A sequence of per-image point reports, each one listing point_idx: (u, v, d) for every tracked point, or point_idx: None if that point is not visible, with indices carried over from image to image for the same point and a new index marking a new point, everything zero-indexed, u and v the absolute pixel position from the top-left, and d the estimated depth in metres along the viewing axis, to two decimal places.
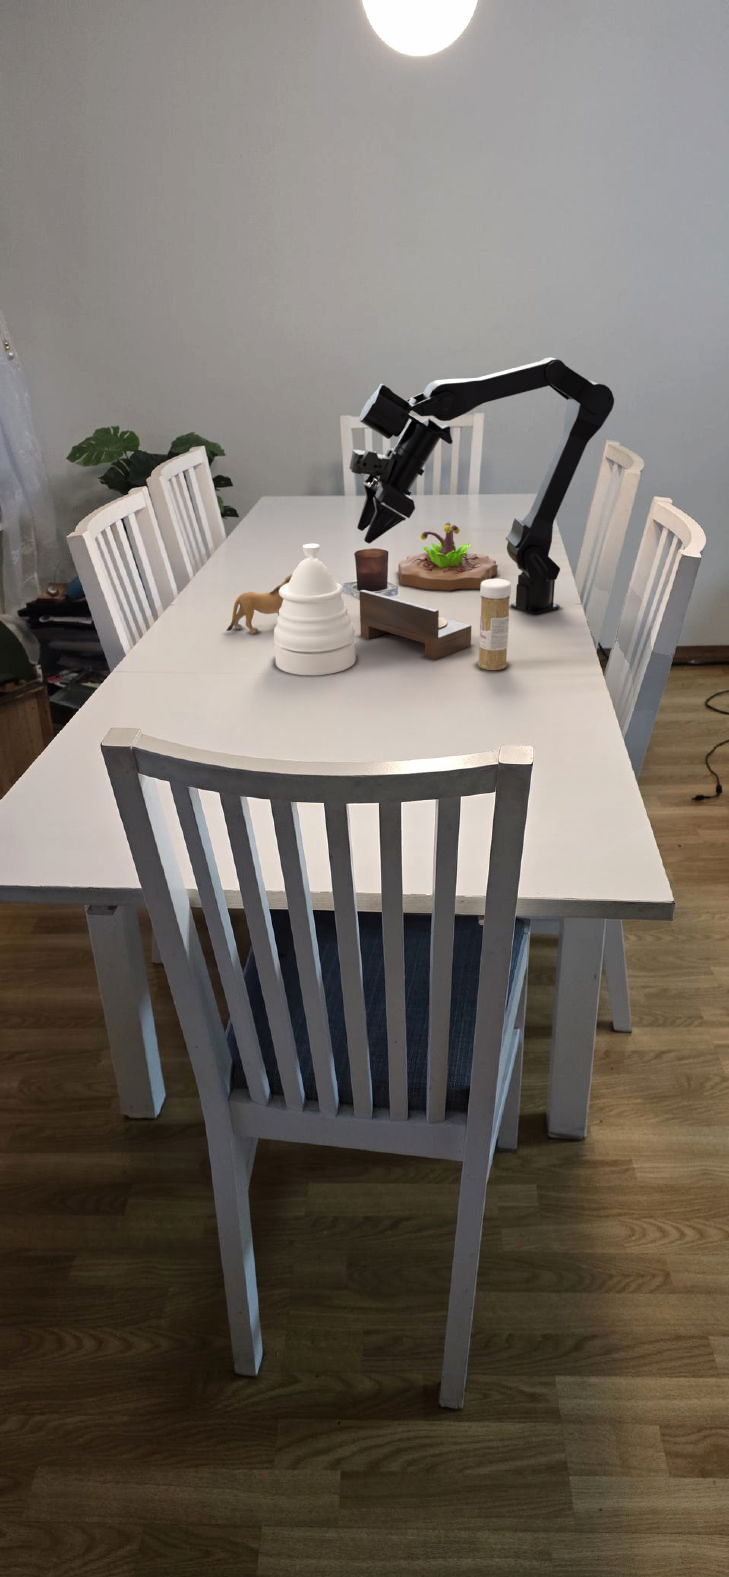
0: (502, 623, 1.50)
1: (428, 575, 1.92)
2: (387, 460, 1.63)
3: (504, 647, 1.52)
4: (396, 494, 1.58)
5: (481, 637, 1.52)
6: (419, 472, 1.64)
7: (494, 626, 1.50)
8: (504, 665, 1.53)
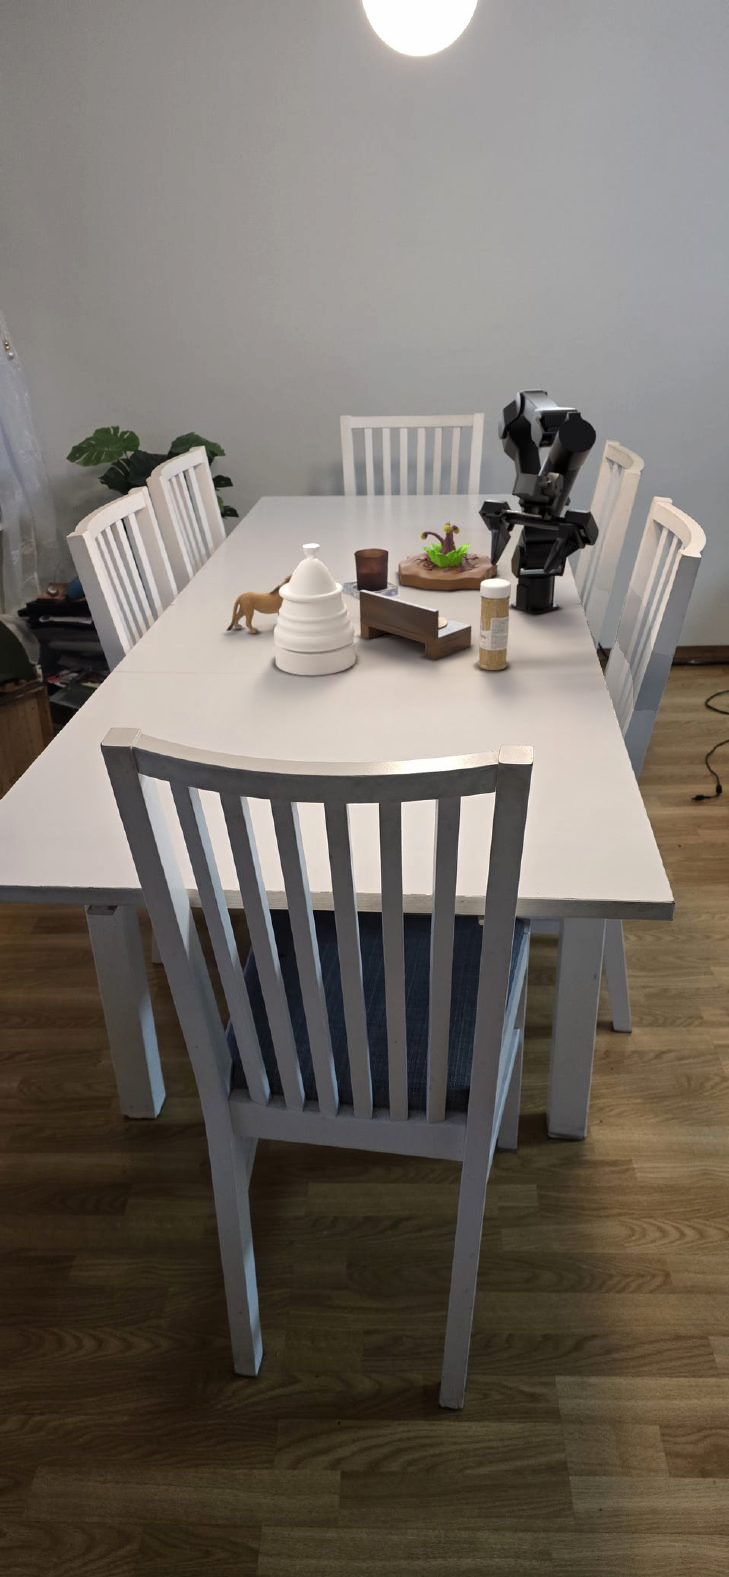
0: (502, 623, 1.50)
1: (428, 575, 1.92)
2: None
3: (504, 647, 1.52)
4: None
5: (481, 637, 1.52)
6: (568, 502, 1.57)
7: (494, 626, 1.50)
8: (504, 665, 1.53)
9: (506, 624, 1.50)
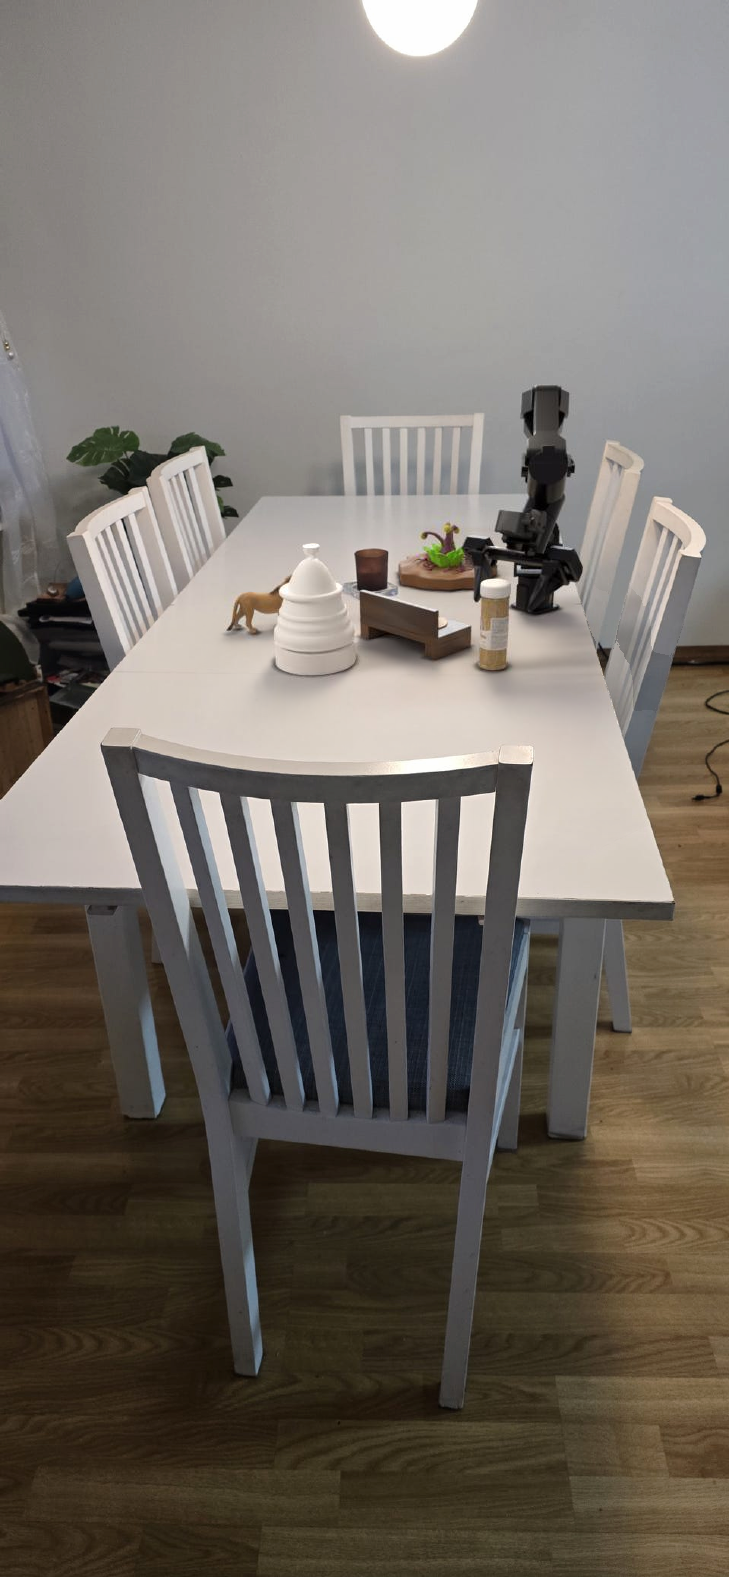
0: (502, 623, 1.50)
1: (428, 574, 1.92)
2: None
3: (504, 647, 1.52)
4: None
5: (481, 637, 1.52)
6: (551, 537, 1.55)
7: (494, 626, 1.50)
8: (504, 665, 1.53)
9: (506, 624, 1.50)
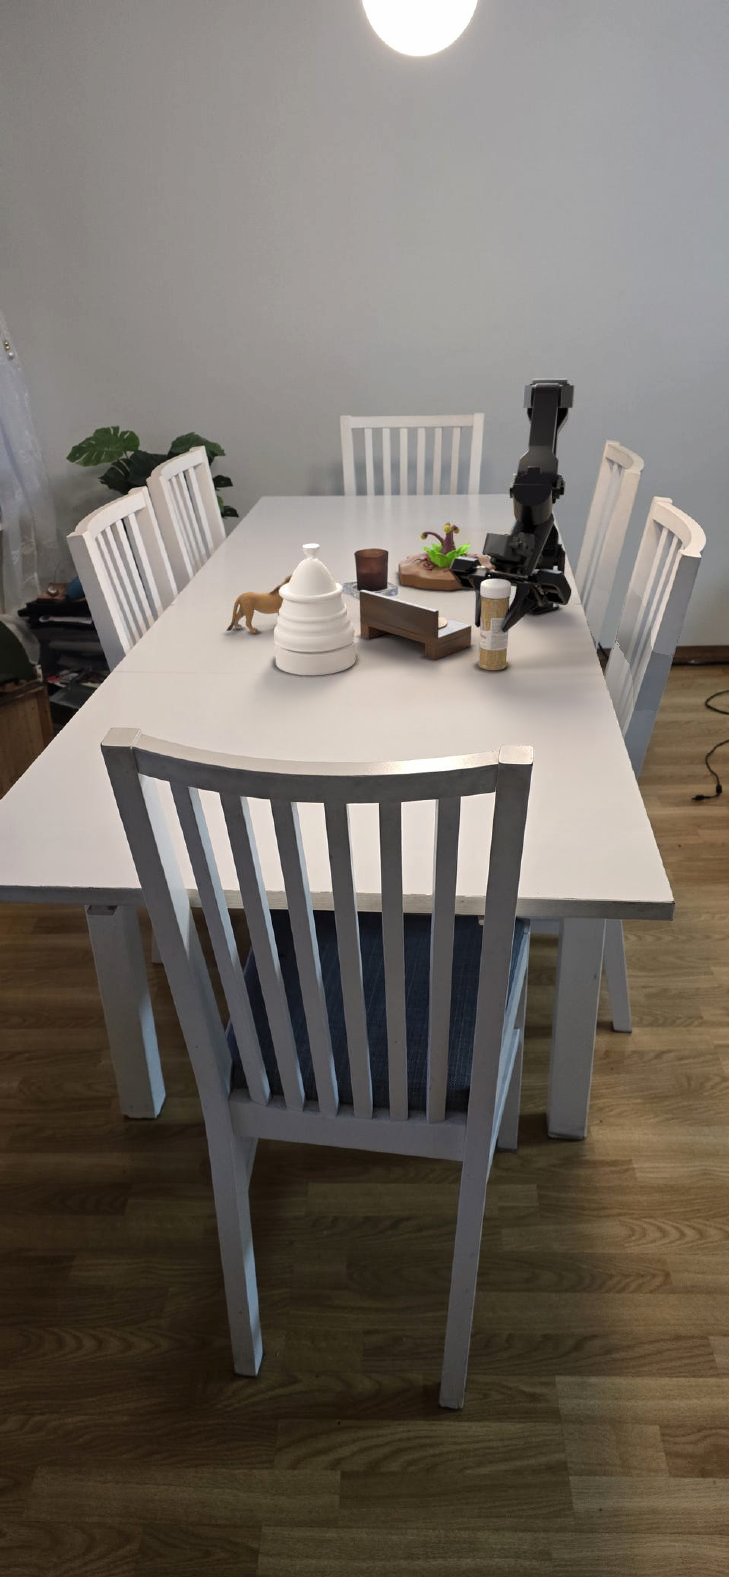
0: (502, 623, 1.50)
1: (428, 575, 1.92)
2: None
3: (504, 647, 1.52)
4: (566, 579, 1.47)
5: (481, 637, 1.52)
6: (540, 559, 1.54)
7: (494, 626, 1.50)
8: (504, 665, 1.53)
9: None
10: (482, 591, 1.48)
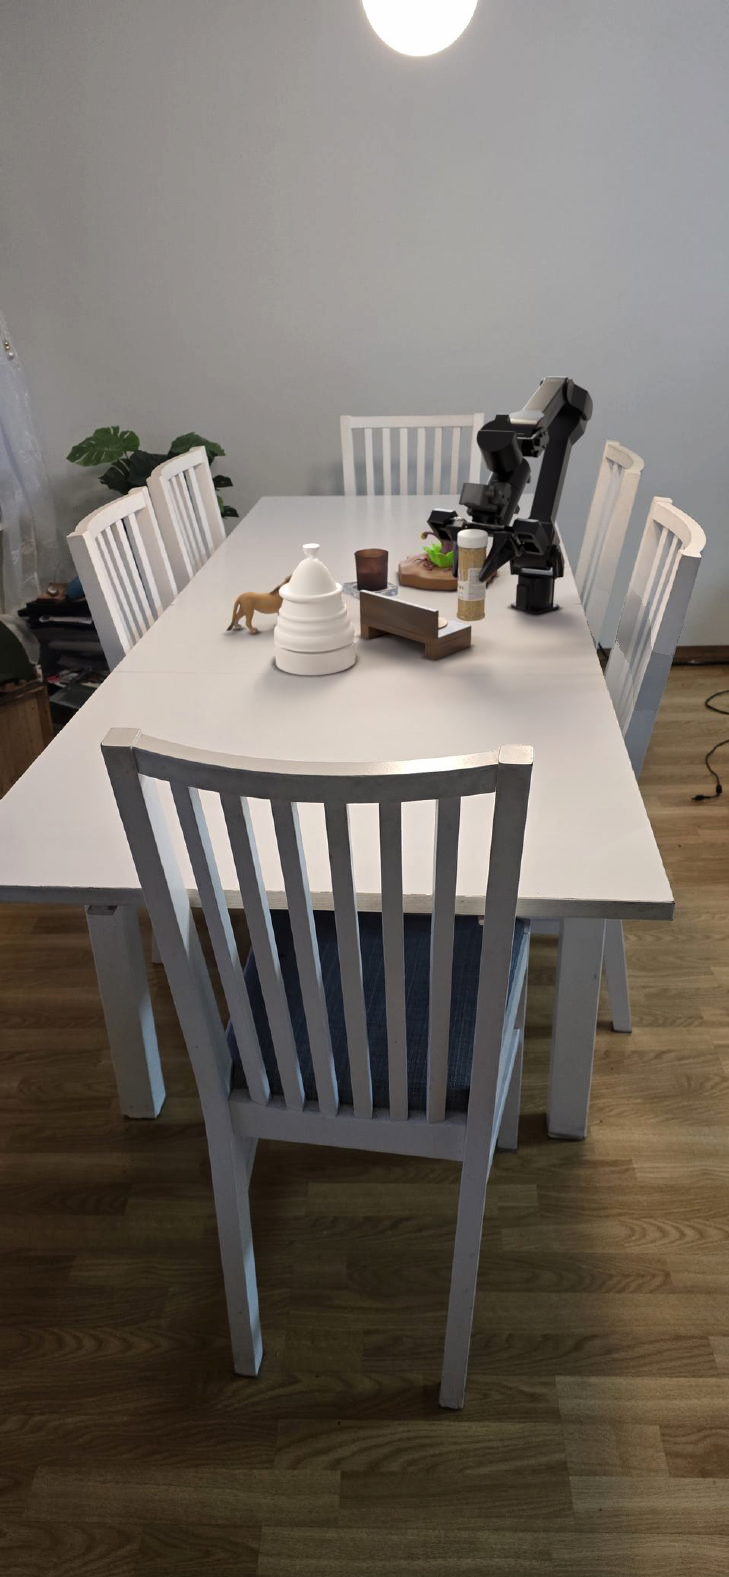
0: None
1: (428, 574, 1.92)
2: None
3: (482, 598, 1.52)
4: (542, 528, 1.48)
5: (459, 588, 1.52)
6: (517, 510, 1.54)
7: (472, 576, 1.50)
8: (482, 616, 1.54)
9: None
10: (459, 541, 1.49)
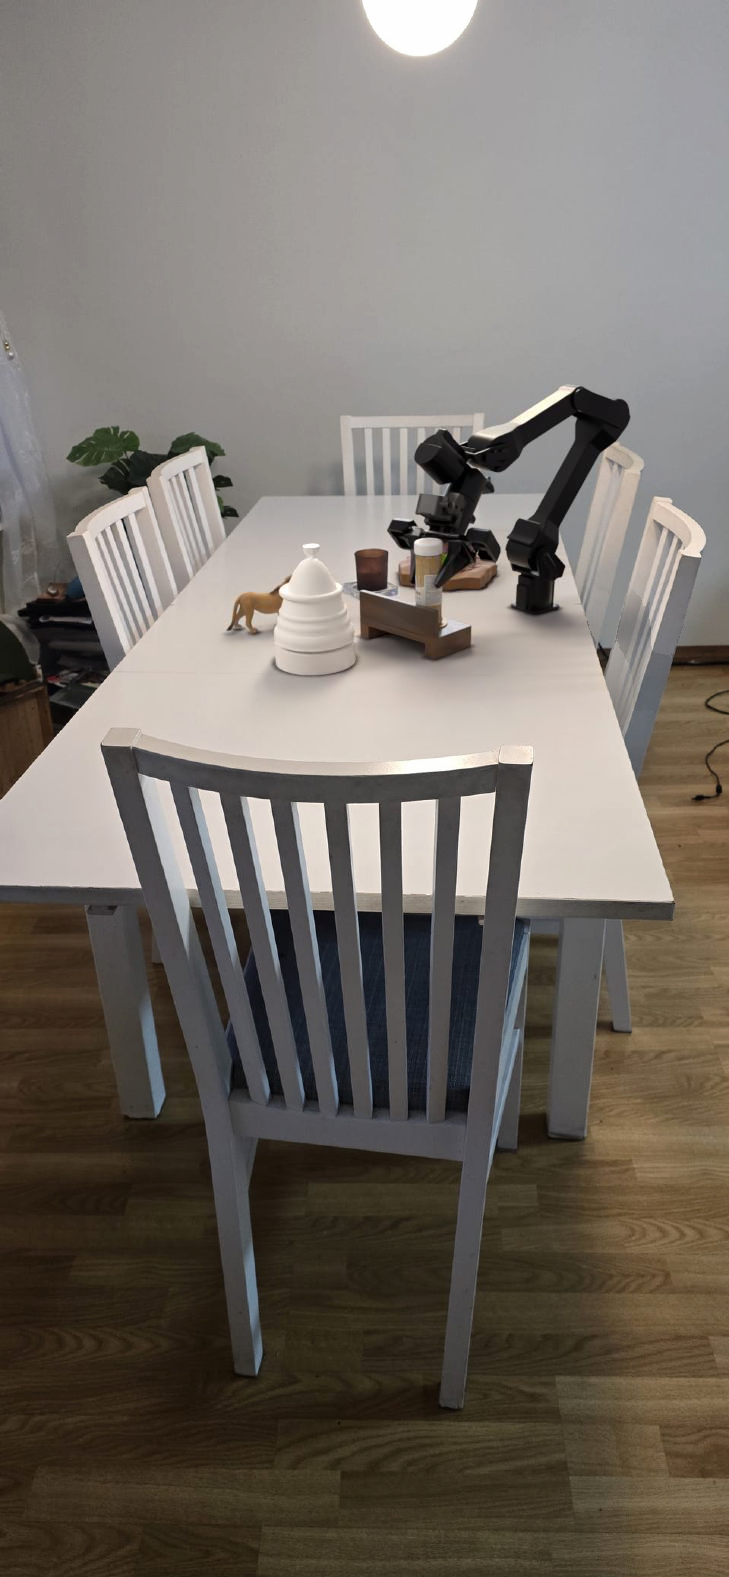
0: (435, 580, 1.58)
1: None
2: None
3: (438, 603, 1.60)
4: (494, 537, 1.55)
5: (416, 594, 1.60)
6: (473, 520, 1.62)
7: (428, 582, 1.58)
8: (439, 620, 1.62)
9: None
10: (415, 549, 1.57)
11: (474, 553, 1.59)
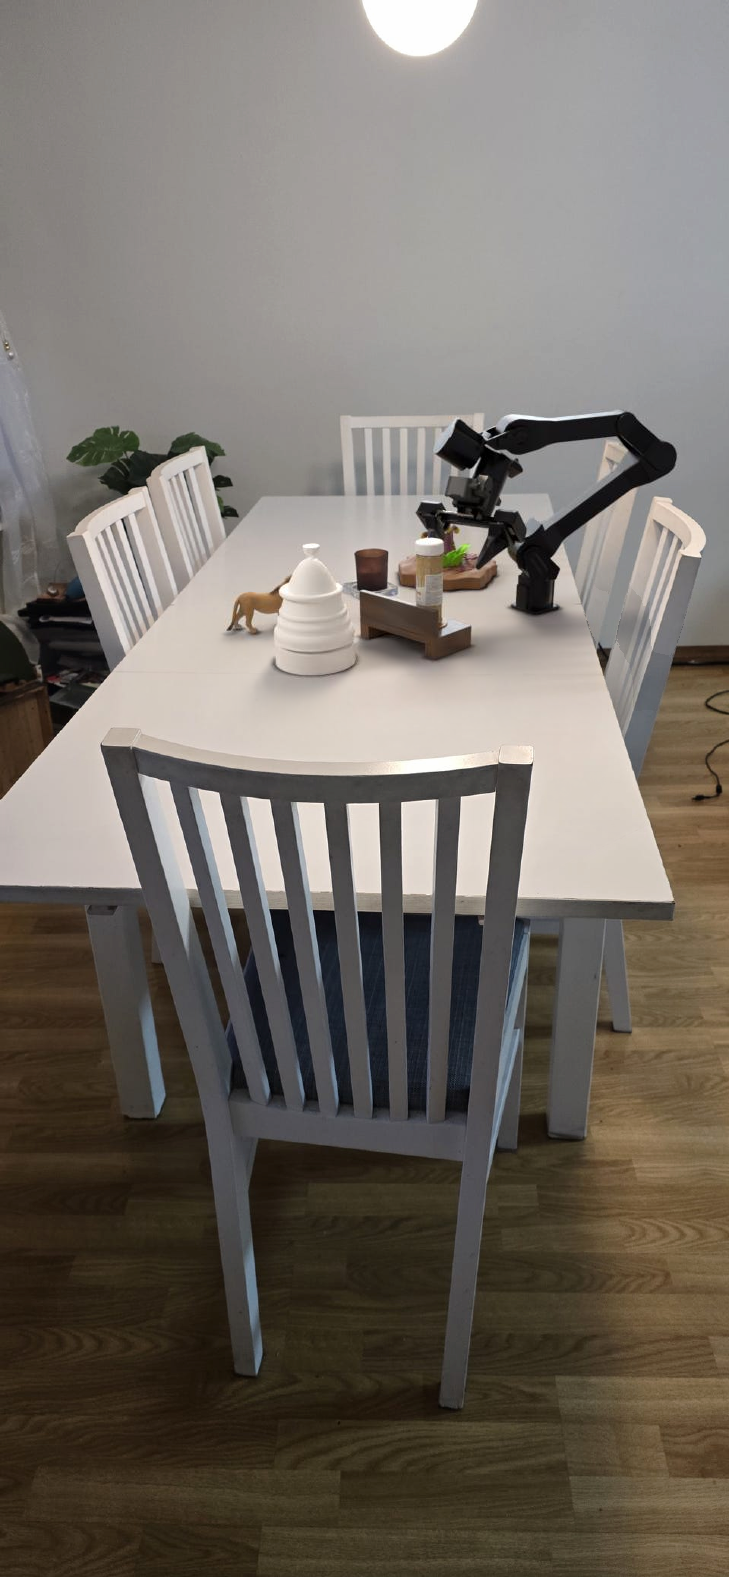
0: (436, 580, 1.58)
1: None
2: None
3: (439, 603, 1.60)
4: (521, 518, 1.61)
5: (417, 594, 1.60)
6: (499, 502, 1.68)
7: (428, 582, 1.58)
8: (439, 621, 1.62)
9: (440, 581, 1.59)
10: (416, 549, 1.57)
11: (513, 535, 1.63)
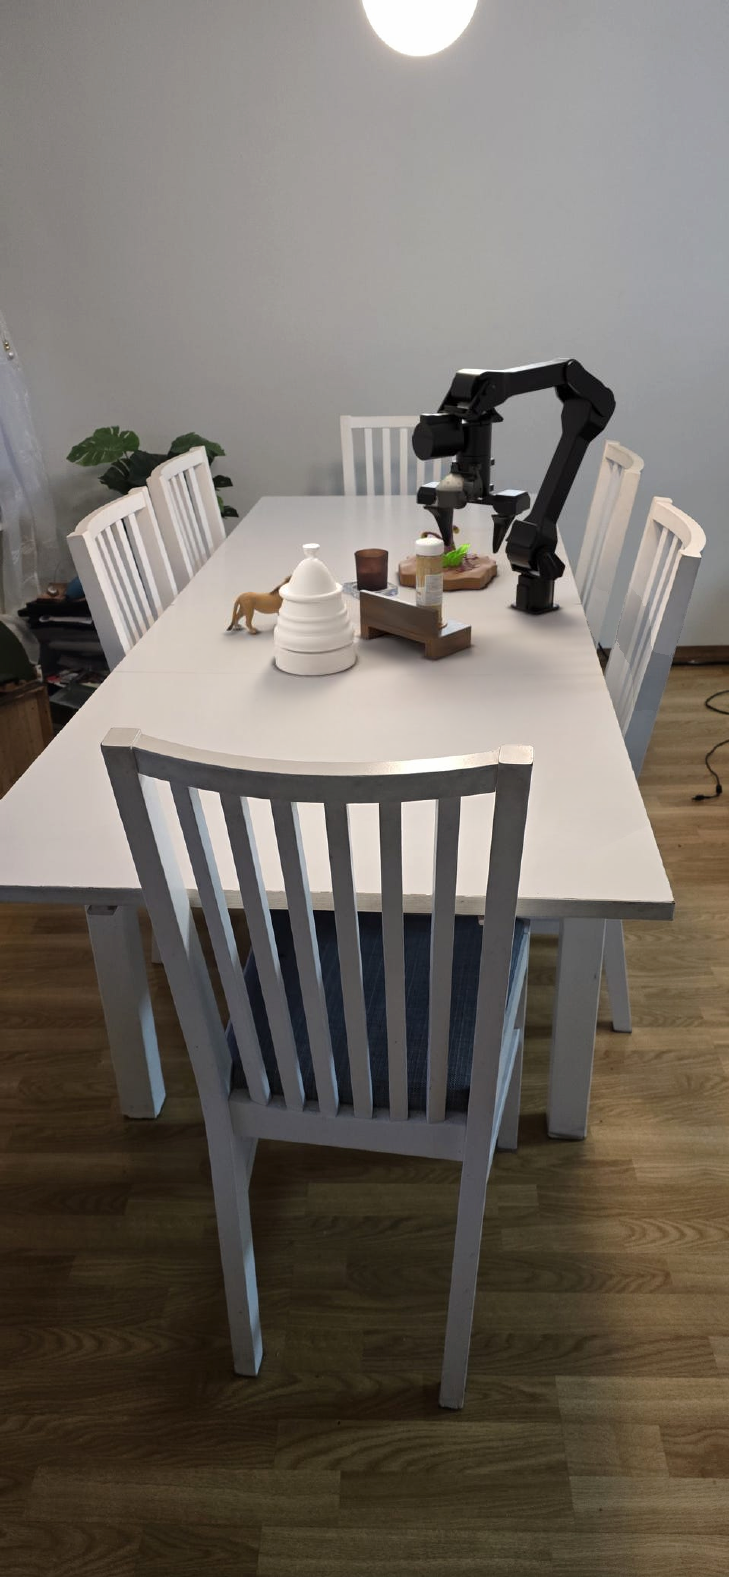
0: (436, 580, 1.58)
1: None
2: (474, 475, 1.58)
3: (439, 603, 1.60)
4: (520, 498, 1.58)
5: (417, 594, 1.60)
6: (492, 463, 1.61)
7: (428, 582, 1.58)
8: (439, 621, 1.62)
9: (440, 581, 1.59)
10: (416, 549, 1.57)
11: None
